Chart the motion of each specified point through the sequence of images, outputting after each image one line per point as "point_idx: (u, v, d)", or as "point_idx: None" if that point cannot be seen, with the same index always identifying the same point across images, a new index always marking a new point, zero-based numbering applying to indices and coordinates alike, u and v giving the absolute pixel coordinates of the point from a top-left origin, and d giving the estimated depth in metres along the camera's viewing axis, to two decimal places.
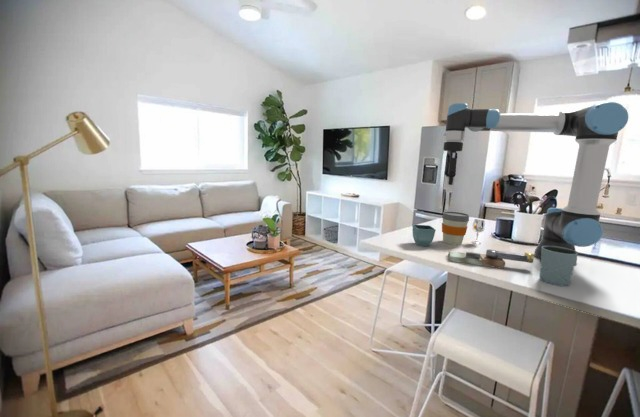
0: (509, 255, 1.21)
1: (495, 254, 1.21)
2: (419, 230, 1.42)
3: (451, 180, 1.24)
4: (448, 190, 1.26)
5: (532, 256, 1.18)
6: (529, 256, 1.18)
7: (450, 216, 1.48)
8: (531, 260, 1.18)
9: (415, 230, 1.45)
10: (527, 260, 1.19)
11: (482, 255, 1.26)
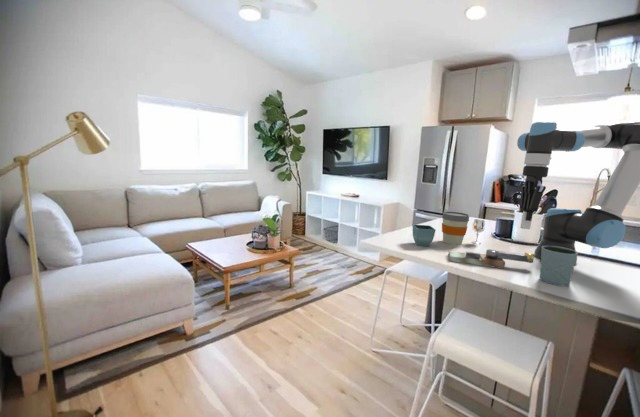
0: (509, 255, 1.21)
1: (495, 254, 1.21)
2: (419, 230, 1.42)
3: None
4: None
5: (532, 256, 1.18)
6: (529, 256, 1.18)
7: (450, 216, 1.48)
8: (531, 260, 1.18)
9: (415, 230, 1.45)
10: (527, 260, 1.19)
11: (482, 255, 1.26)
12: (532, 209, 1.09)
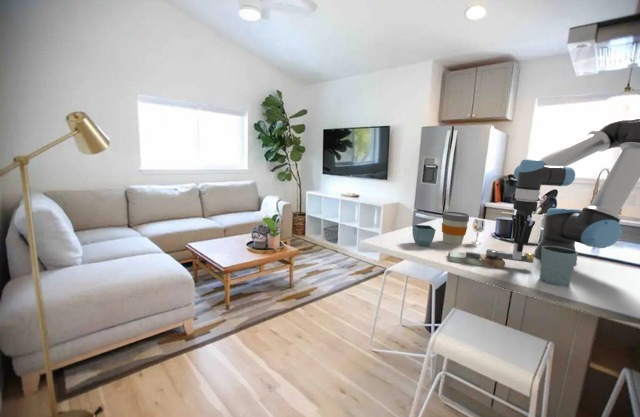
0: (509, 255, 1.21)
1: (495, 254, 1.21)
2: (419, 230, 1.42)
3: None
4: None
5: (532, 256, 1.18)
6: (529, 256, 1.18)
7: (450, 216, 1.48)
8: (531, 260, 1.18)
9: (415, 230, 1.45)
10: (527, 260, 1.19)
11: (482, 255, 1.26)
12: (523, 242, 1.14)
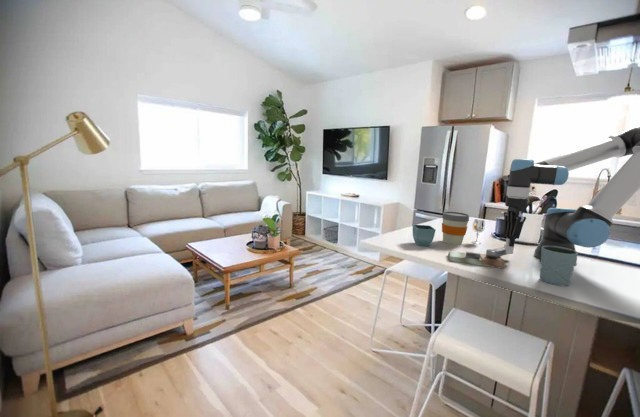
0: (502, 251, 1.26)
1: (498, 254, 1.22)
2: (419, 230, 1.42)
3: None
4: None
5: None
6: None
7: (450, 216, 1.48)
8: None
9: (415, 230, 1.45)
10: None
11: (482, 255, 1.26)
12: (514, 237, 1.21)
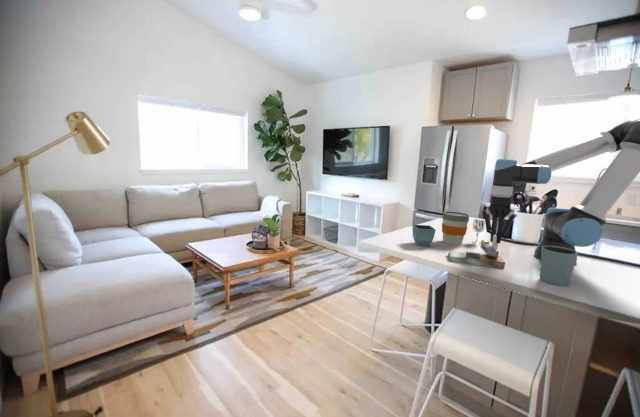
0: None
1: None
2: (419, 230, 1.42)
3: None
4: None
5: None
6: None
7: (450, 216, 1.48)
8: None
9: (415, 230, 1.45)
10: None
11: (482, 255, 1.26)
12: (505, 234, 1.26)
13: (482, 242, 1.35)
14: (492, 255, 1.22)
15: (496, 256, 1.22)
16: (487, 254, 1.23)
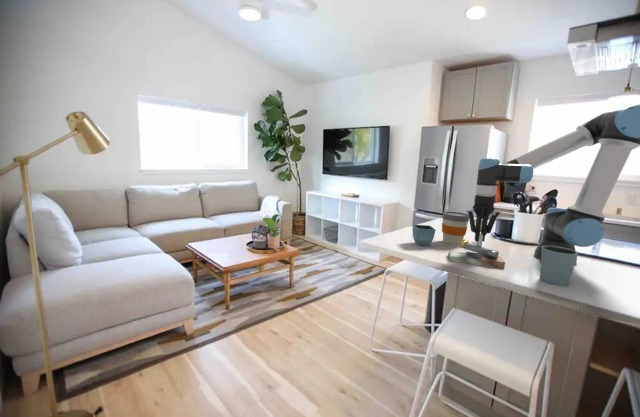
0: None
1: None
2: (419, 230, 1.42)
3: (475, 236, 1.31)
4: None
5: None
6: None
7: (450, 216, 1.48)
8: None
9: (415, 230, 1.45)
10: None
11: (482, 255, 1.26)
12: None
13: (464, 242, 1.33)
14: (496, 255, 1.22)
15: None
16: (491, 255, 1.22)
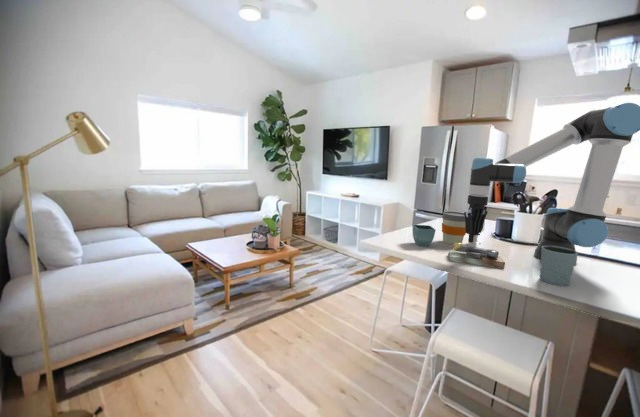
0: None
1: None
2: (419, 230, 1.42)
3: (470, 238, 1.28)
4: None
5: None
6: None
7: (450, 216, 1.48)
8: None
9: (415, 230, 1.45)
10: None
11: None
12: None
13: (460, 245, 1.28)
14: None
15: None
16: (494, 256, 1.22)
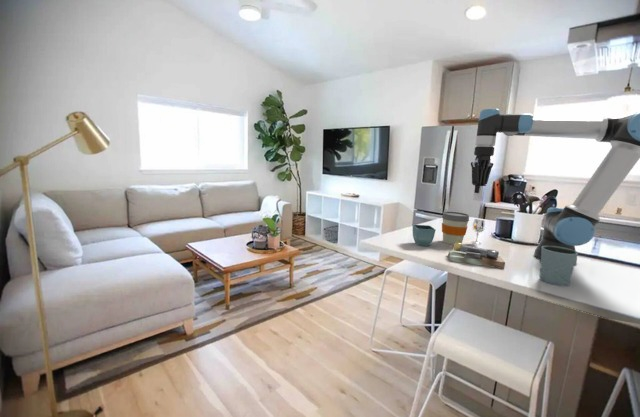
0: None
1: None
2: (419, 230, 1.42)
3: (476, 188, 1.32)
4: (475, 198, 1.34)
5: None
6: None
7: (450, 216, 1.48)
8: None
9: (415, 230, 1.45)
10: None
11: None
12: None
13: (460, 245, 1.28)
14: None
15: None
16: (494, 256, 1.22)
